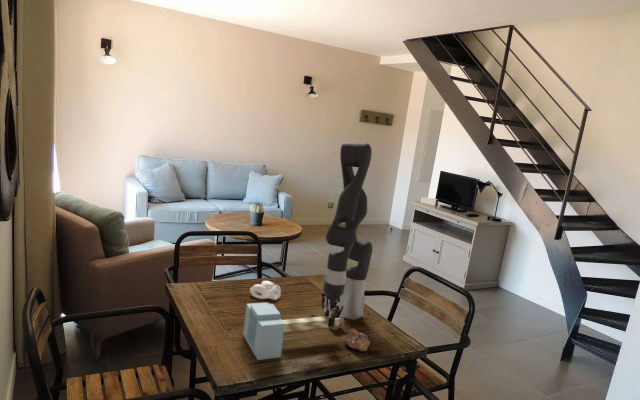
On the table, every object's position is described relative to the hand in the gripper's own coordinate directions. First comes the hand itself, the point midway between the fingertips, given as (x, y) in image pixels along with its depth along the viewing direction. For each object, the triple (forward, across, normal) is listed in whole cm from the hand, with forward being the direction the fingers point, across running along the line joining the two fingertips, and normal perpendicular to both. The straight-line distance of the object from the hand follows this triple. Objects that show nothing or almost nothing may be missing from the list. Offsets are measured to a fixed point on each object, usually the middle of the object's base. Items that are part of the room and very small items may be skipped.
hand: (328, 324), depth 165 cm
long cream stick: (0, 0, +8) cm, 8 cm away
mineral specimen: (+6, -7, -9) cm, 13 cm away
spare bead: (+6, +7, -7) cm, 12 cm away
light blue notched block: (+6, 0, +26) cm, 26 cm away
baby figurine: (+6, +40, +10) cm, 42 cm away
